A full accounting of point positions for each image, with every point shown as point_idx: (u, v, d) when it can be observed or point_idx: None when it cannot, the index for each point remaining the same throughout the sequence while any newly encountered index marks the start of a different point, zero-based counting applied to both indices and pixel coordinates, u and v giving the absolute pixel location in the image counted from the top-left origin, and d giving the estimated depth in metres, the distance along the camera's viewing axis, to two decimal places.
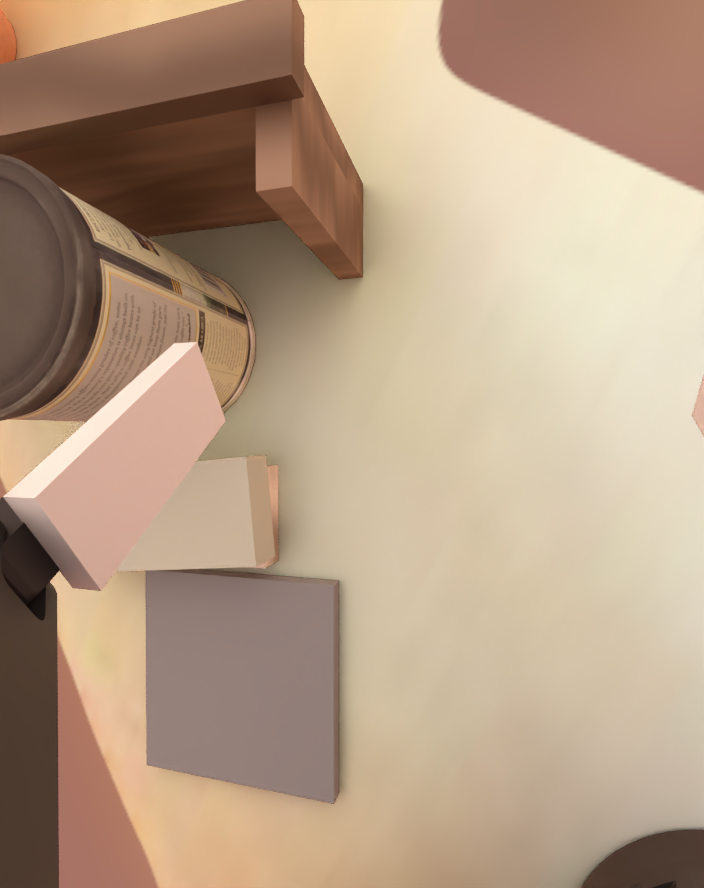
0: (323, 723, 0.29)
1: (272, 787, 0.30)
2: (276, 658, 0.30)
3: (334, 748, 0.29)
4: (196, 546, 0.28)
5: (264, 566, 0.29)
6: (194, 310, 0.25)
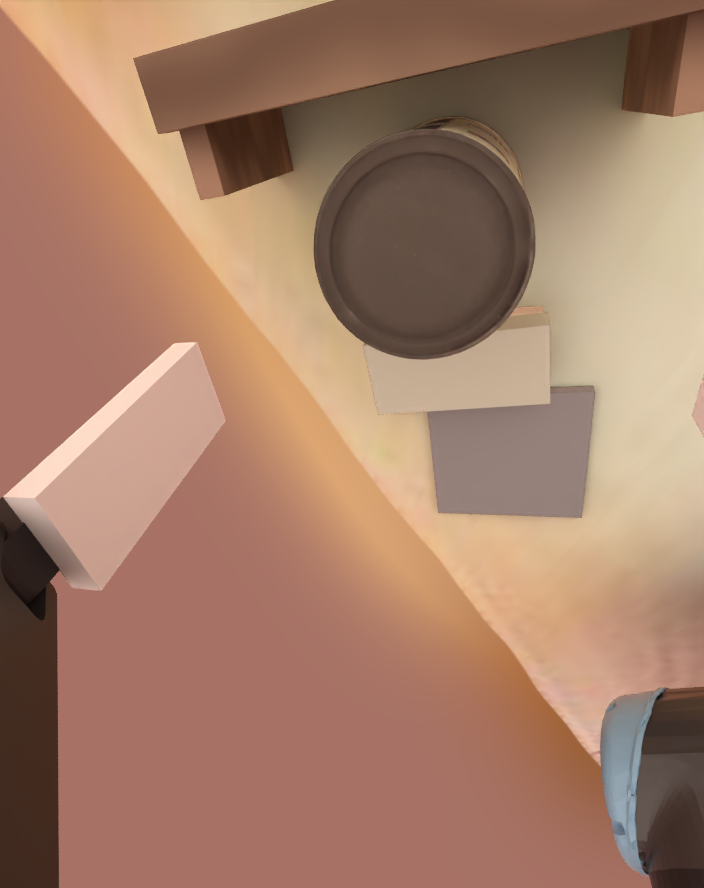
0: (577, 477, 0.43)
1: (535, 514, 0.46)
2: (541, 443, 0.42)
3: (584, 489, 0.43)
4: (497, 391, 0.36)
5: None
6: None
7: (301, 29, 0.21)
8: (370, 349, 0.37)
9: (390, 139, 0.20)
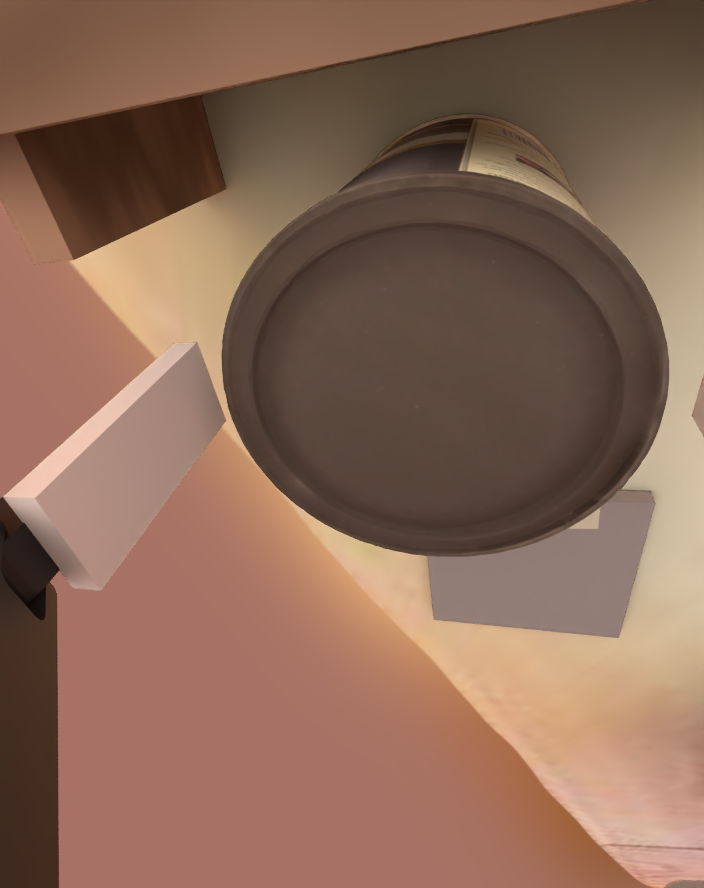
0: (619, 595, 0.32)
1: (559, 630, 0.36)
2: (574, 556, 0.31)
3: None
4: None
5: None
6: None
7: None
8: None
9: (367, 193, 0.09)
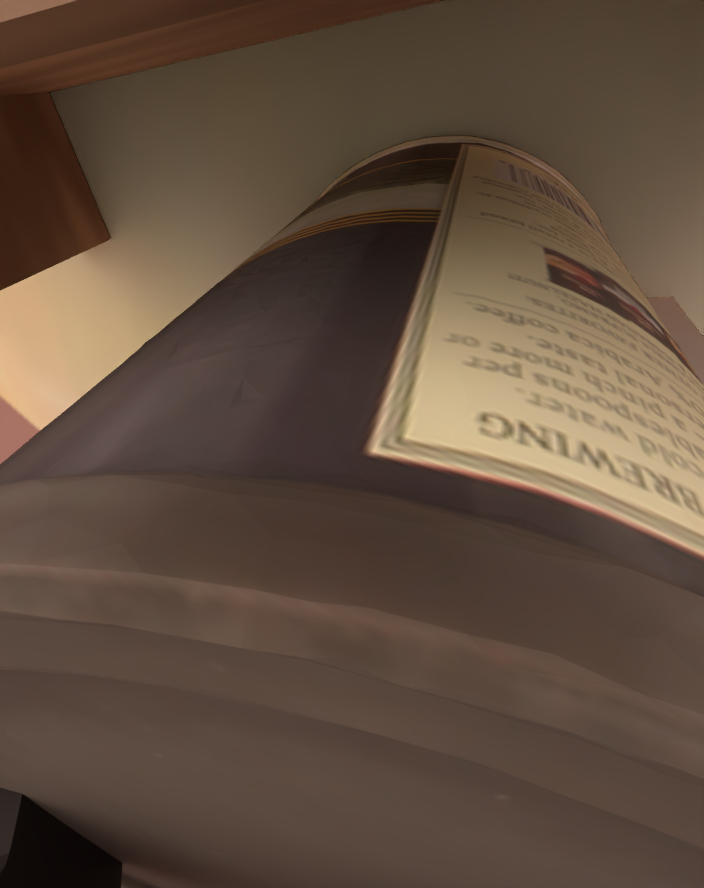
0: None
1: None
2: None
3: None
4: None
5: None
6: None
7: None
8: None
9: None
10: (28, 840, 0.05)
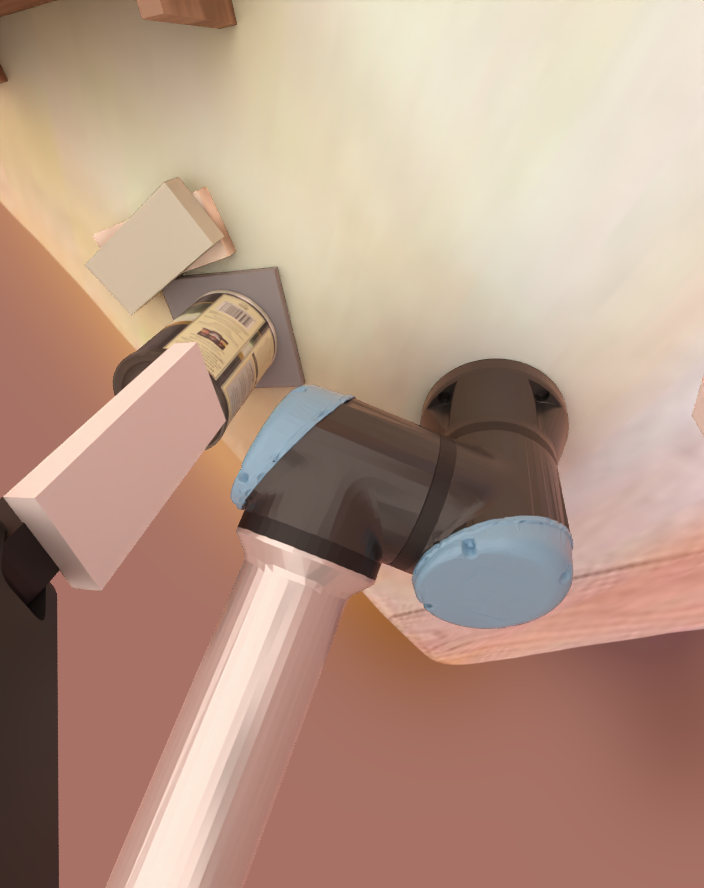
0: (287, 348, 0.53)
1: (269, 385, 0.56)
2: None
3: (296, 360, 0.54)
4: (178, 253, 0.45)
5: (227, 255, 0.47)
6: (250, 357, 0.46)
7: None
8: (90, 265, 0.48)
9: (138, 354, 0.40)
10: None
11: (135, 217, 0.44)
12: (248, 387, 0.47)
